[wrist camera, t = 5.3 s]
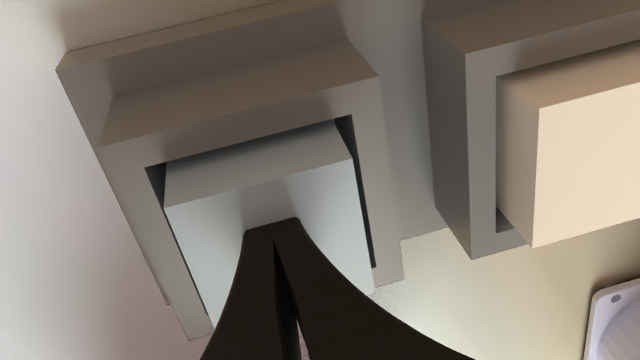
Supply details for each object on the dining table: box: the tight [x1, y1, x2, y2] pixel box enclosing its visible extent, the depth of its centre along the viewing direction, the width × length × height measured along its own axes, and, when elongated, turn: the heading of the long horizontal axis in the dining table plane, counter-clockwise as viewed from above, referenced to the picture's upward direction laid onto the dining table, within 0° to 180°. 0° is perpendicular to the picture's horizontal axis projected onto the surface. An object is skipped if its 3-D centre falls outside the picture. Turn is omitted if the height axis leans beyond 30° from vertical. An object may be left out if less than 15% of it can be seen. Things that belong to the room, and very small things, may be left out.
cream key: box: [496, 39, 640, 248], centre depth 15 cm, size 4×4×3 cm
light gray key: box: [164, 119, 375, 329], centre depth 15 cm, size 4×4×3 cm
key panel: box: [55, 0, 640, 341], centre depth 17 cm, size 18×9×4 cm, turn 100°
